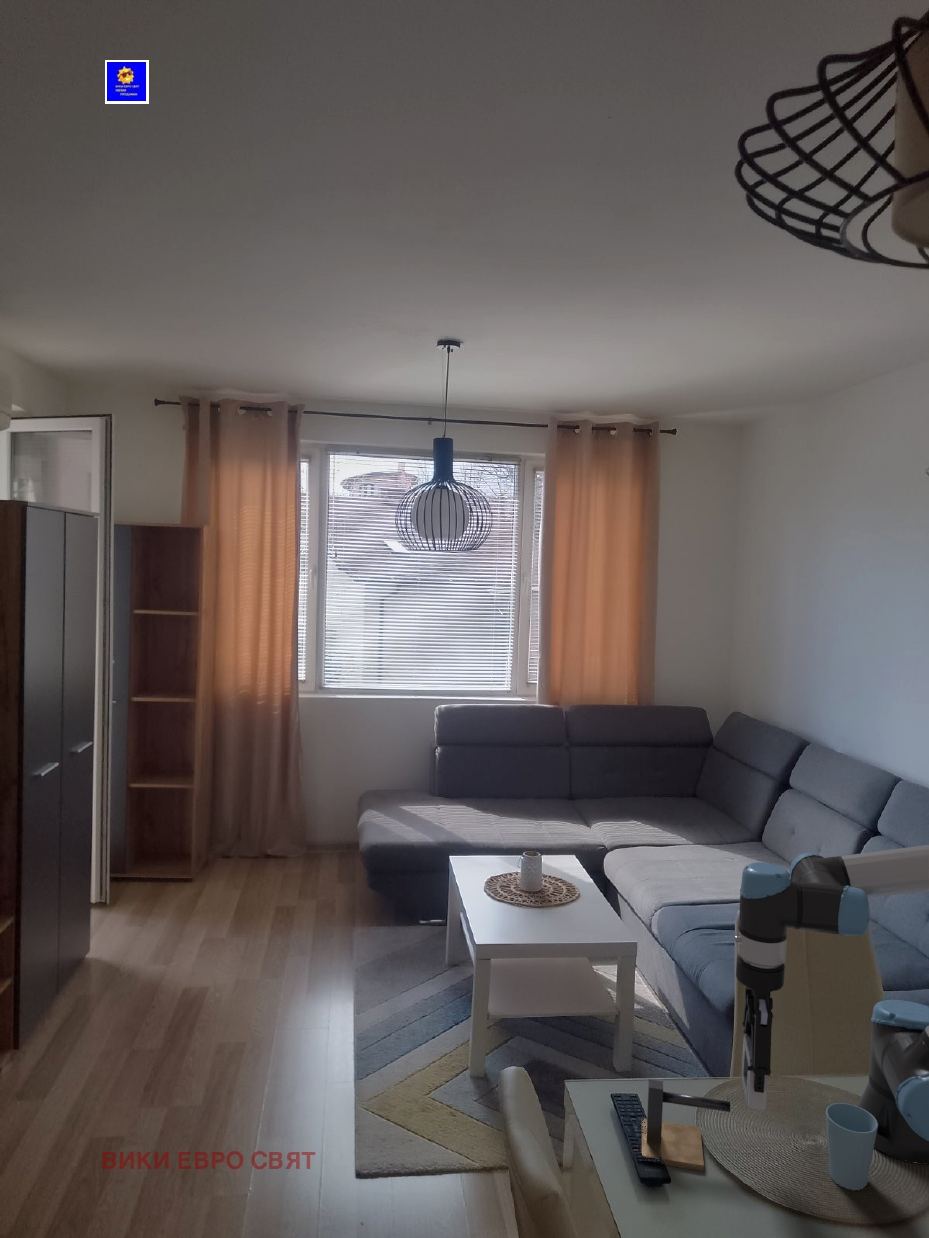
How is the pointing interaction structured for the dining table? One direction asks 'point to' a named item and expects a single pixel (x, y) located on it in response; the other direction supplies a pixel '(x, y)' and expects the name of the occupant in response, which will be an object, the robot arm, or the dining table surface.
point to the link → (746, 1063)
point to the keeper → (674, 1129)
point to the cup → (850, 1144)
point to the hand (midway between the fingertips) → (753, 1091)
